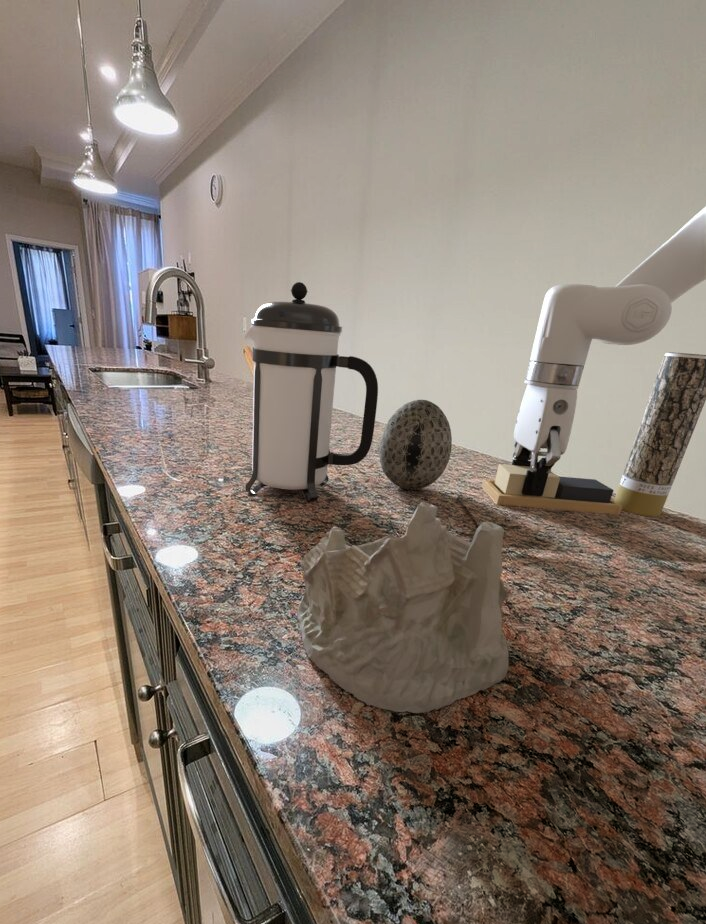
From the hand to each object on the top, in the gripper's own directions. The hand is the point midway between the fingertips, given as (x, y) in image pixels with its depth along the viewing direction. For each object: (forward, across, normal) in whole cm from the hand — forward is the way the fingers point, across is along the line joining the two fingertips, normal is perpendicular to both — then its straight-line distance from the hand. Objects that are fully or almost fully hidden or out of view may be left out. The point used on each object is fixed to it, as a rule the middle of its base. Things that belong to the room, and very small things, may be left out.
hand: (524, 487), depth 74 cm
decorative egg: (+2, +2, +19) cm, 19 cm away
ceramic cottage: (+3, -40, +26) cm, 48 cm away
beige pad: (0, 0, 0) cm, 0 cm away
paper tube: (+3, 0, -19) cm, 19 cm away
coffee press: (+2, -3, +38) cm, 38 cm away
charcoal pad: (+2, 0, -9) cm, 9 cm away
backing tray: (+2, 0, -4) cm, 5 cm away
